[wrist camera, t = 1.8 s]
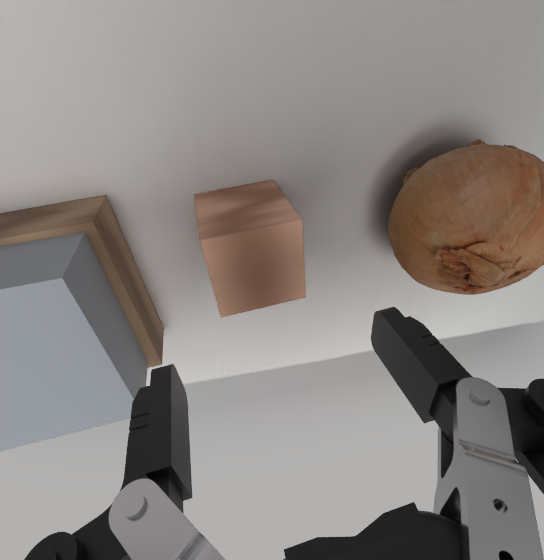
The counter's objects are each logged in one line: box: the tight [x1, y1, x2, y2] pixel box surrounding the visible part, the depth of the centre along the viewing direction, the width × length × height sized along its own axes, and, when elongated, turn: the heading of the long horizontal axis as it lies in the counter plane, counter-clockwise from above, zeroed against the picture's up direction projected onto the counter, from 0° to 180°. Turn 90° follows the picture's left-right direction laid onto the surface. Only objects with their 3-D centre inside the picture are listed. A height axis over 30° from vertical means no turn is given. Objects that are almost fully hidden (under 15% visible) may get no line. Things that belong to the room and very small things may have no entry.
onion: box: [388, 139, 544, 294], centre depth 20 cm, size 10×9×10 cm
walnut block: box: [0, 195, 164, 368], centre depth 20 cm, size 11×11×4 cm
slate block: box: [0, 232, 148, 451], centre depth 16 cm, size 10×10×4 cm
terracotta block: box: [194, 180, 306, 317], centre depth 19 cm, size 5×5×6 cm
